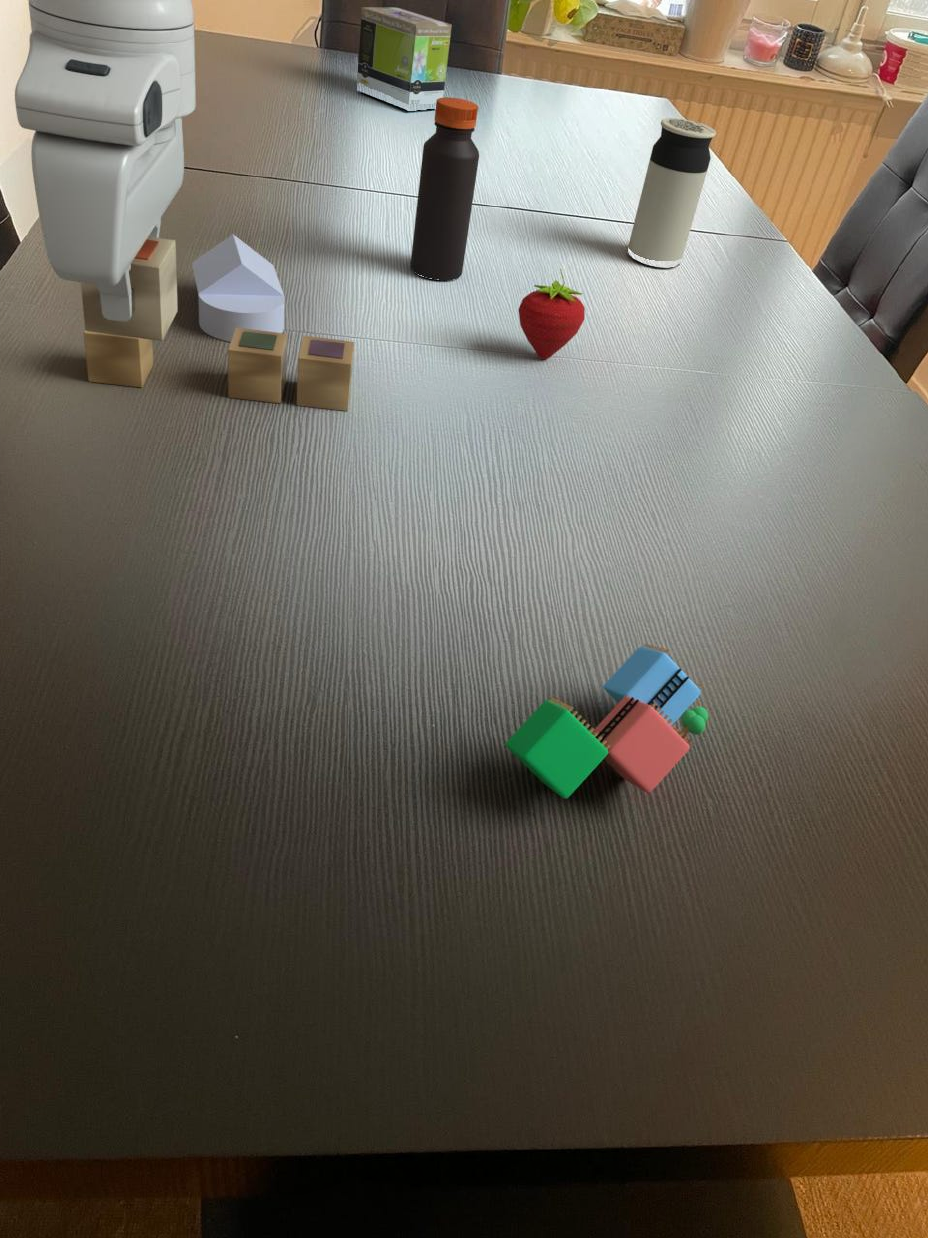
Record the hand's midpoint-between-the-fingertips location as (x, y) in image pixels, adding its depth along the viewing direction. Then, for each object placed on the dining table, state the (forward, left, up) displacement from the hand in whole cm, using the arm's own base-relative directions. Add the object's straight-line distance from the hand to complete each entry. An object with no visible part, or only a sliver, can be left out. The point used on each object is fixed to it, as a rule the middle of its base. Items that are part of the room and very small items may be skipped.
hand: (130, 297), depth 66 cm
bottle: (+24, +61, -19) cm, 68 cm away
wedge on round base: (+2, +40, -19) cm, 44 cm away
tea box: (+17, +148, -19) cm, 150 cm away
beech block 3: (+12, +24, -19) cm, 33 cm away
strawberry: (+36, +39, -19) cm, 56 cm away
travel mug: (+56, +77, -19) cm, 97 cm away
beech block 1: (-7, +24, -19) cm, 31 cm away
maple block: (0, 0, -2) cm, 2 cm away
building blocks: (+34, -21, -19) cm, 44 cm away
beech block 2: (+6, +24, -19) cm, 31 cm away
